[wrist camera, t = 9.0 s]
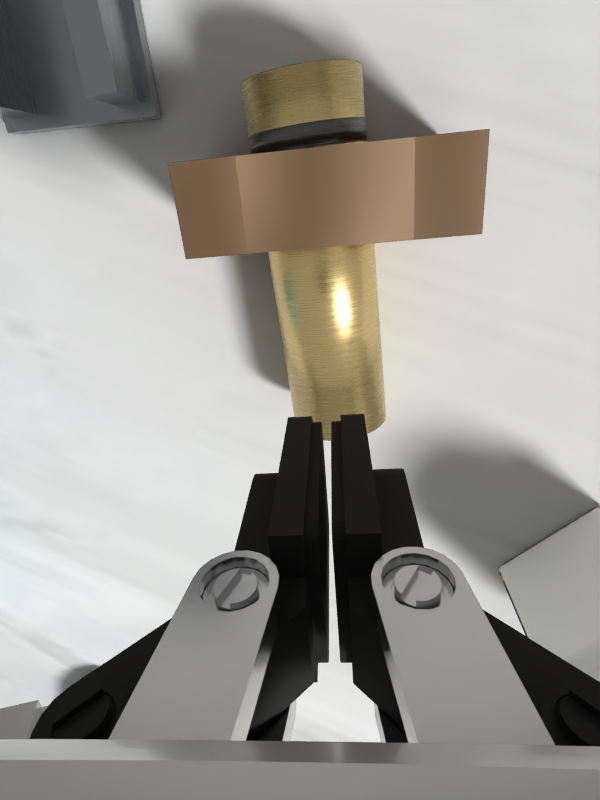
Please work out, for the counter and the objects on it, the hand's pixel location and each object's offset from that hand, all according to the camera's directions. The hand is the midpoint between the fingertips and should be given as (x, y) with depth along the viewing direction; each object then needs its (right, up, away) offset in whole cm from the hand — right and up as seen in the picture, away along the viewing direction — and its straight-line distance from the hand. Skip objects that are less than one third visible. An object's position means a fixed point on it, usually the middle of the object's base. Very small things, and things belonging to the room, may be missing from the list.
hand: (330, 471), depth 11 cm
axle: (+1, +8, +11) cm, 14 cm away
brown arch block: (+1, +11, +10) cm, 15 cm away
